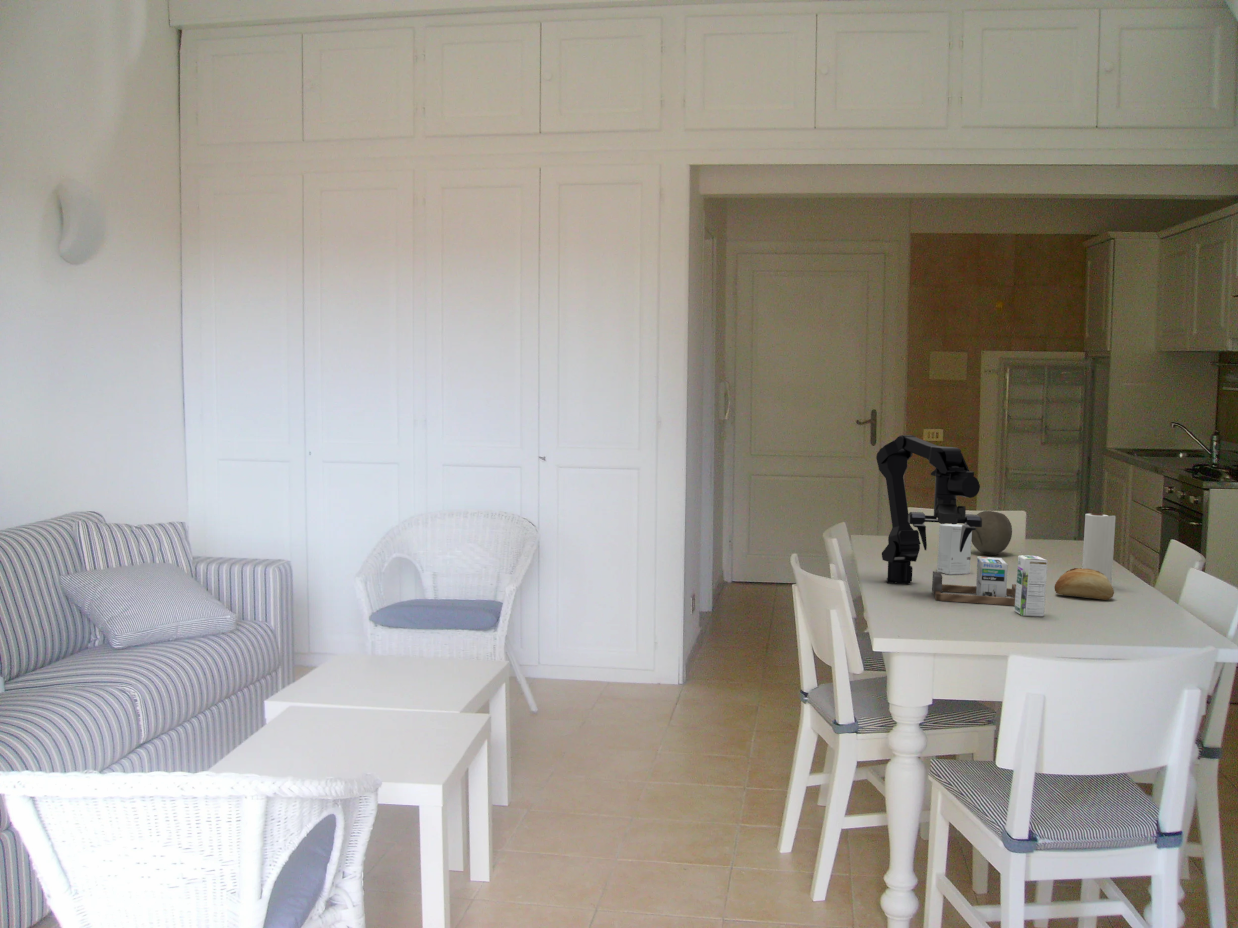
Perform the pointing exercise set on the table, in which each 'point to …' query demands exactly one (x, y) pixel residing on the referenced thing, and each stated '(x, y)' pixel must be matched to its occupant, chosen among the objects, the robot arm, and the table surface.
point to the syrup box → (1030, 585)
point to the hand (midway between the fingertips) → (942, 551)
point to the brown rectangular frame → (939, 587)
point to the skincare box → (953, 550)
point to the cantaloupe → (992, 533)
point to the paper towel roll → (1099, 543)
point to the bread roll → (1084, 584)
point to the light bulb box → (991, 577)
